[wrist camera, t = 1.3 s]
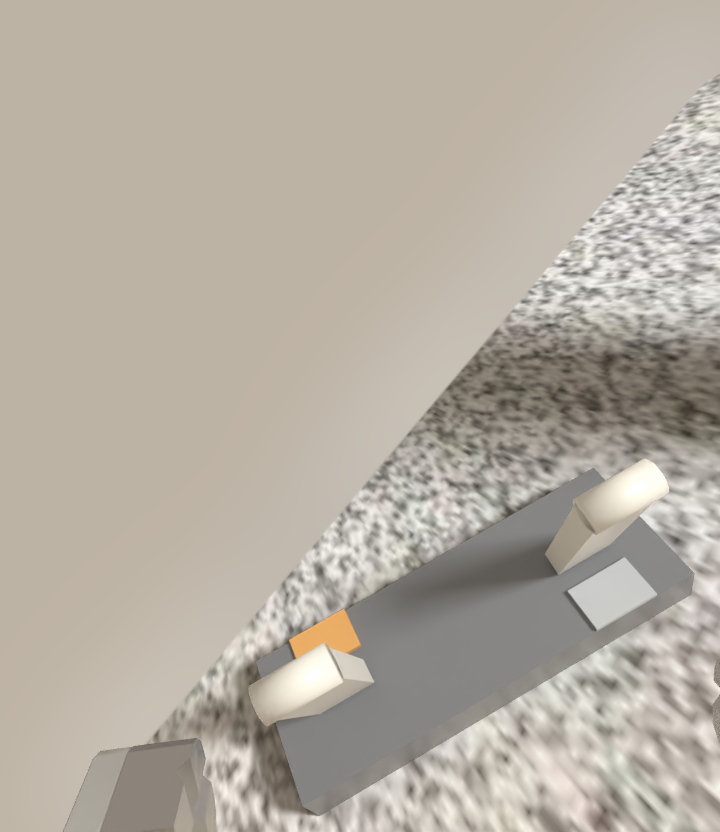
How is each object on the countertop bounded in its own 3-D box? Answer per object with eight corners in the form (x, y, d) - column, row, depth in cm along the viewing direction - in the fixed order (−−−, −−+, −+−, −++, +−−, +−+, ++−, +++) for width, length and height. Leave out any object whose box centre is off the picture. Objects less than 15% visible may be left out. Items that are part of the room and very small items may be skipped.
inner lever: (593, 522, 45) (646, 453, 32) (611, 547, 44) (673, 487, 31) (542, 551, 44) (576, 493, 32) (560, 577, 43) (601, 529, 31)
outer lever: (361, 656, 43) (320, 641, 31) (376, 685, 43) (339, 681, 30) (308, 687, 43) (244, 685, 30) (321, 717, 42) (261, 727, 29)
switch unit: (594, 490, 50) (593, 465, 48) (690, 594, 43) (694, 571, 41) (272, 676, 48) (253, 660, 46) (319, 816, 42) (300, 805, 39)
